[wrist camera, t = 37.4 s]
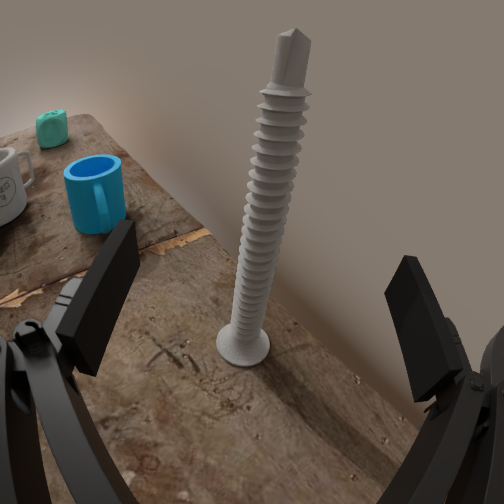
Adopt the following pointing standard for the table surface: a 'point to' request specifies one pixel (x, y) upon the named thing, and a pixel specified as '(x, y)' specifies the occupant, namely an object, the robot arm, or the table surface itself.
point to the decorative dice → (52, 129)
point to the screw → (267, 200)
